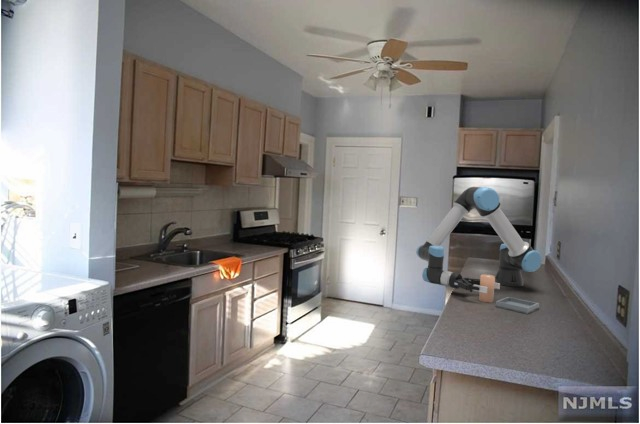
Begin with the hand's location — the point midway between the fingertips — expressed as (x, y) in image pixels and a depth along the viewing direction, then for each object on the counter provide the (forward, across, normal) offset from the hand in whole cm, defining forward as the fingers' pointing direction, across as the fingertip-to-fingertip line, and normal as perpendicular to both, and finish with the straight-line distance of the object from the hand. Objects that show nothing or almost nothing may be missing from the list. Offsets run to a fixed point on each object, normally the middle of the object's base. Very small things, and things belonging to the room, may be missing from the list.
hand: (493, 288), depth 208 cm
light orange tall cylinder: (-3, 0, -7) cm, 7 cm away
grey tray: (+11, 0, -7) cm, 13 cm away
